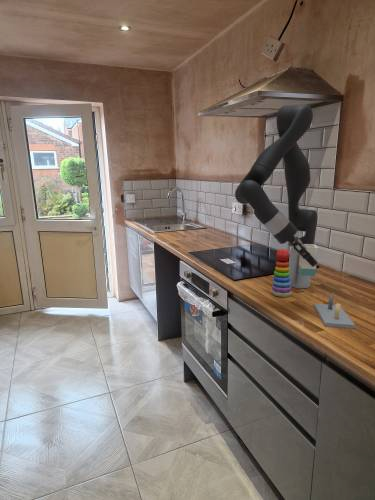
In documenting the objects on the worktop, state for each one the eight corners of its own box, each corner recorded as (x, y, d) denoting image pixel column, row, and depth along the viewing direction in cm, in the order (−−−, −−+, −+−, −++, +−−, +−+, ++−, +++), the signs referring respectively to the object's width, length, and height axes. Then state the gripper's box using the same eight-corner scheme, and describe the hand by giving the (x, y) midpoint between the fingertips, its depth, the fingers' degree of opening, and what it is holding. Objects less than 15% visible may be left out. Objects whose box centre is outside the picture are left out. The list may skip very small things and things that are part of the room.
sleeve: (298, 271, 116) (300, 244, 113) (312, 272, 115) (315, 244, 112) (300, 275, 111) (303, 247, 109) (315, 276, 110) (318, 247, 108)
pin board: (313, 306, 119) (315, 290, 118) (339, 308, 118) (341, 292, 116) (324, 326, 104) (326, 308, 102) (354, 328, 102) (357, 310, 101)
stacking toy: (287, 290, 135) (290, 247, 131) (294, 297, 127) (298, 251, 123) (268, 290, 135) (271, 247, 131) (274, 298, 127) (277, 251, 123)
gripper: (291, 222, 103) (327, 261, 104) (285, 216, 117) (317, 250, 117) (273, 238, 105) (308, 275, 106) (269, 230, 119) (301, 264, 120)
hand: (313, 262), depth 112 cm, fingers closed on sleeve, 4 cm apart
